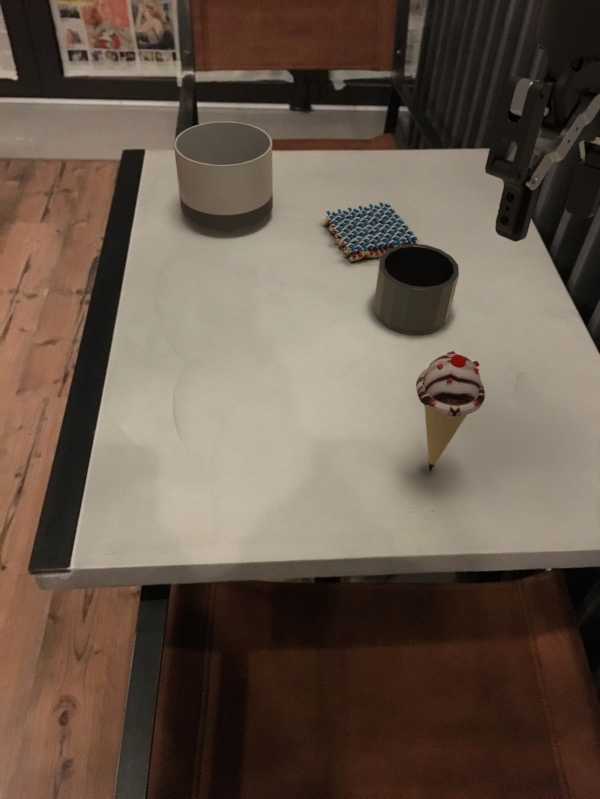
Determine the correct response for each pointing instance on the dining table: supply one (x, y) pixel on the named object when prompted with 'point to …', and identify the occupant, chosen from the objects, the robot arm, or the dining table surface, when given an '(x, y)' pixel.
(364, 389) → the dining table surface
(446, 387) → the ice cream cone
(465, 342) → the dining table surface
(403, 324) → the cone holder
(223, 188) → the planter
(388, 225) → the woven mat
